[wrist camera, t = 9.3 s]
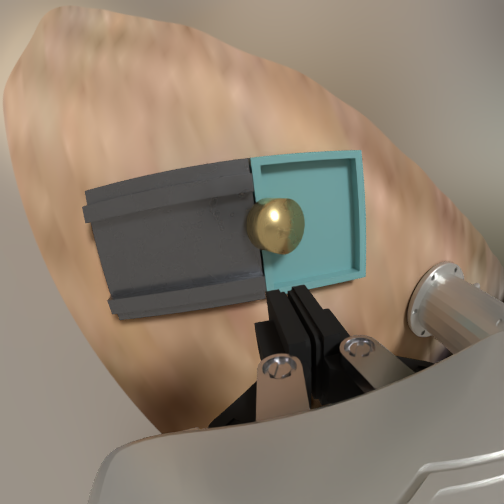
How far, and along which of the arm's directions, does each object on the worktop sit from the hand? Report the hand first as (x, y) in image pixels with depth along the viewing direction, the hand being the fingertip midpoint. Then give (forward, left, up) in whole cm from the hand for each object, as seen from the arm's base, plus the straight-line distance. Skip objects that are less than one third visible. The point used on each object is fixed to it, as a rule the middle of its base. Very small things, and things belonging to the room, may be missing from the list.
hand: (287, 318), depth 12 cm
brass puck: (-2, -1, -15) cm, 15 cm away
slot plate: (+7, 0, -17) cm, 18 cm away
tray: (-7, 0, -17) cm, 18 cm away
